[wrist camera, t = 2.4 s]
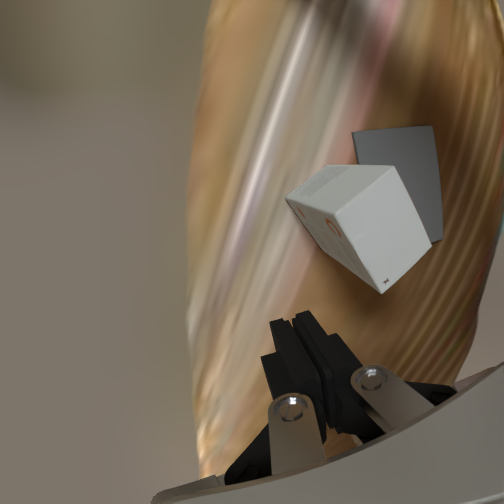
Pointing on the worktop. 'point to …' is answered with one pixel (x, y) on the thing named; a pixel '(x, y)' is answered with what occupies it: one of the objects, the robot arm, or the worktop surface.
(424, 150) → the mat
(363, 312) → the worktop surface
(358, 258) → the small box
